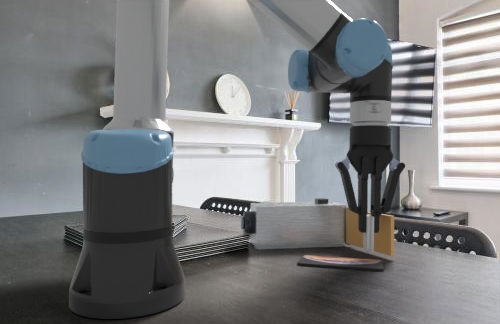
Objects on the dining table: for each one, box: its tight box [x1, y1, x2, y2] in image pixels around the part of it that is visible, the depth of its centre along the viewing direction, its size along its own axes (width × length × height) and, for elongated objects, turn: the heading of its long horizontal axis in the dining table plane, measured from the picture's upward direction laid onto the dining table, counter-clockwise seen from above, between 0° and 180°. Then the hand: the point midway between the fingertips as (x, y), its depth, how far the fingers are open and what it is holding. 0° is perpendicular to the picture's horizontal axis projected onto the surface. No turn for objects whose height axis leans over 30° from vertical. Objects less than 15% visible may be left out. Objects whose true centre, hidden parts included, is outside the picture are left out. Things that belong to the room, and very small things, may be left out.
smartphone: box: [296, 254, 385, 273], centre depth 73 cm, size 8×1×15 cm
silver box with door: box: [240, 197, 348, 250], centre depth 90 cm, size 23×8×10 cm, turn 98°
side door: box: [346, 206, 395, 257], centre depth 82 cm, size 14×2×8 cm, turn 25°
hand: (368, 249), depth 76 cm, fingers closed
